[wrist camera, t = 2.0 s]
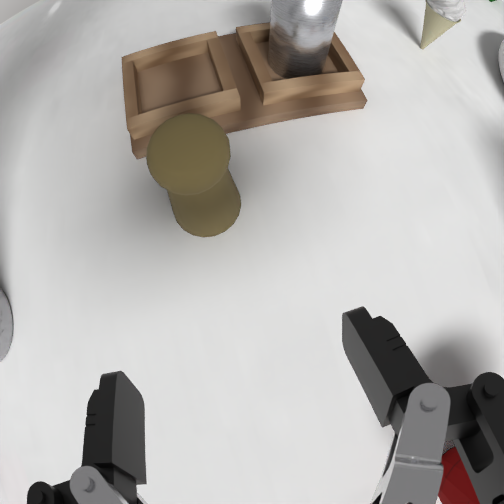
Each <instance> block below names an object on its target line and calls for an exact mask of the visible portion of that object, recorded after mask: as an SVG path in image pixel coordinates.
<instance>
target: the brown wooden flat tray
mask: <svg viewBox="0 0 504 504" xmlns="http://www.w3.org/2000/svg"><path fill="white" fill-rule="evenodd" d="M269 36H270V22H269V23H262V24H254V25H248V26H241V27H236V33H234V34H229V35H223V36H217V33H216V31H214V32H209V33H205V34H200V35H196V36H192V37H188V38H184V39H180V40H176V41H172V42H168V43H165V44H161V45H158V46H155V47H151V48H148V49H145V50H142V51H139V52H135V53H132V54H130V55H127V56H124V57H122V72H123V87H124V100H125V111H126V122H127V129H128V131H129V133H130V137H131V145H132V152H133V154H134V155H135V157H136V158H137V159H139V158H143V157H146V156H147V146H148V143H149V141H150V138H151V136H152V135H153V133H154V132H155V131H156V129H157V128H158V127H159V126H160V125H161V124H162V123H164V122H165V121H166V120H168V119H170V118H172V117H174V116H177V115H180V114H187V113H193V114H201V115H204V116H206V117H208V118H211V119H213V120H214V121H215V122H217V123H218V124H219V125H220V126H221V127H222V128H223V130H224V132H225V134H227V133H231V132H235V131H240V130H244V129H248V128H253V127H257V126H262V125H267V124H272V123H276V122H282V121H287V120H292V119H297V118H303V117H309V116H315V115H321V114H327V113H334V112H340V111H347V110H355V109H363V108H364V106H365V104H366V102H367V99H366V97H365V95H364V93H363V92H362V90H361V87H362V85H363V83H364V80H365V79H364V77H363V75H362V74H361V72H360V70H359V69H358V67H357V66H356V64H355V62H354V61H353V59H352V58H351V56H350V55H349V53H348V51H347V50H346V48H345V47H344V45H343V44H342V42H341V41H340V39H339V38H338V37H337V35H336V34H335V32H334V33H333V37H332V41H331V44H330V48H329V51H328V55H327V59H326V62H325V66H324V69H323V72H322V73H321V75H312V76H305V77H297V78H290V79H285V78H283V77H281V76H279V75H277V74H276V73H275V72H274V71H273V70H272V69H271V68H270V66H269V64H268V51H269Z"/></svg>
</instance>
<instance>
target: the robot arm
mask: <svg viewBox="0 0 504 504" xmlns="http://www.w3.org/2000/svg"><path fill="white" fill-rule="evenodd" d="M12 331H13V323H12V314H11V309H10V305H9V303H8V300H7V298H6V296H5V294H4V292H3V291H2V289H1V288H0V361H1V360H2V359H3V358H4V357H5V356H6V354H7V352H8V350H9V347H10V344H11V340H12ZM342 342H343V347H344V350H345V353H346V356H347V358H348V360H349V362H350V364H351V365H352V367H353V369H354V371H355V373H356V375H357V377H358V379H359V381H360V383H361V385H362V387H363V389H364V391H365V393H366V395H367V397H368V399H369V401H370V403H371V405H372V408H373V410H374V412H375V414H376V416H377V418H378V420H379V422H380V424H381V426H382V427H384V426H387V425H389V424H391V425H392V427H393V429H394V431H395V432H394V435H393V439H392V442H391V446H390V450H389V453H388V456H387V460H386V463H385V466H384V469H383V472H382V475H381V478H380V481H379V483H378V485H377V488H376V490H375V493H374V495H373V498H372V501H371V503H370V504H436V500H437V496H438V493H439V489H440V485H441V481H442V476H443V464H442V463H441V458H442V453H443V448H444V443H445V442H447V441H451V440H453V443H454V445H455V447H456V449H457V451H458V453H459V456H460V458H461V460H462V462H463V464H464V467H465V469H466V471H467V473H468V476H469V478H470V480H471V483H472V485H473V488H474V490H475V492H476V495H477V497H478V500H479V502H480V504H504V379H503V378H502V377H501V376H500V375H498V374H496V373H492V372H486V373H483V374H481V375H479V376H478V377H477V378H476V379H475V381H474V382H473V384H468V385H462V386H457V387H450V388H447V387H442V386H440V385H438V384H435V383H433V382H432V381H431V380H430V379H429V378H428V376H427V375H426V373H425V372H424V370H423V369H422V367H421V366H420V364H419V363H418V361H417V359H416V358H415V356H414V355H413V353H412V352H411V350H410V349H409V347H408V346H406V343H405V341H404V340H403V338H402V337H400V334H399V333H398V331H397V330H396V328H395V327H394V325H393V324H392V323H391V322H389V321H388V320H386V319H385V318H383V317H382V316H379V317H376V318H373V319H372V317H371V316H370V314H369V313H368V311H367V310H366V309H365V308H364V307H360V308H357V309H354V310H351V311H348V312H345V313H343V315H342ZM85 425H86V427H85V434H84V445H83V459H82V465H81V467H80V468H78V469H77V470H76V471H75V472H74V473H73V474H72V476H71V479H70V480H69V481H66V482H63V483H60V484H57V485H54V486H51V485H49V484H47V483H45V482H41V481H40V482H36V483H34V484H33V485H32V486H31V487H30V488H29V491H28V494H27V504H147V503H146V502H145V501H144V500H143V498H142V497H141V496H140V495H139V494H138V493H137V488H136V485H138V484H147V483H146V463H145V408H144V401H143V398H142V395H141V394H140V392H139V391H138V390H137V388H136V387H135V386H134V385H133V384H132V382H131V381H130V380H129V379H128V377H127V376H126V375H125V374H124V373H123V372H122V371H117V372H112V373H106V374H103V375H102V376H101V378H100V385H99V389H97V390H94V391H93V393H92V395H91V397H90V399H89V401H88V407H87V417H86V424H85Z"/></svg>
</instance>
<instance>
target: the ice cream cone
mask: <svg viewBox="0 0 504 504" xmlns="http://www.w3.org/2000/svg"><path fill="white" fill-rule="evenodd" d="M465 13H466V7H465V3H464V0H426V10H425V17H424V25H423V32H422V39H421V46H420V48H421V49H424V48H425V47H427V46H428V45H429V44H430V43H432V42H433V41H434V40H436V39H437V38H438V37H439V36H441V35H442V34H443V33H444V32H446V31H447V30H448V29H450V28H451V27H452V26H454V25H455V24H456V23H459V22H460V21H461V18H462V17H463V16H464V15H465Z"/></svg>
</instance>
